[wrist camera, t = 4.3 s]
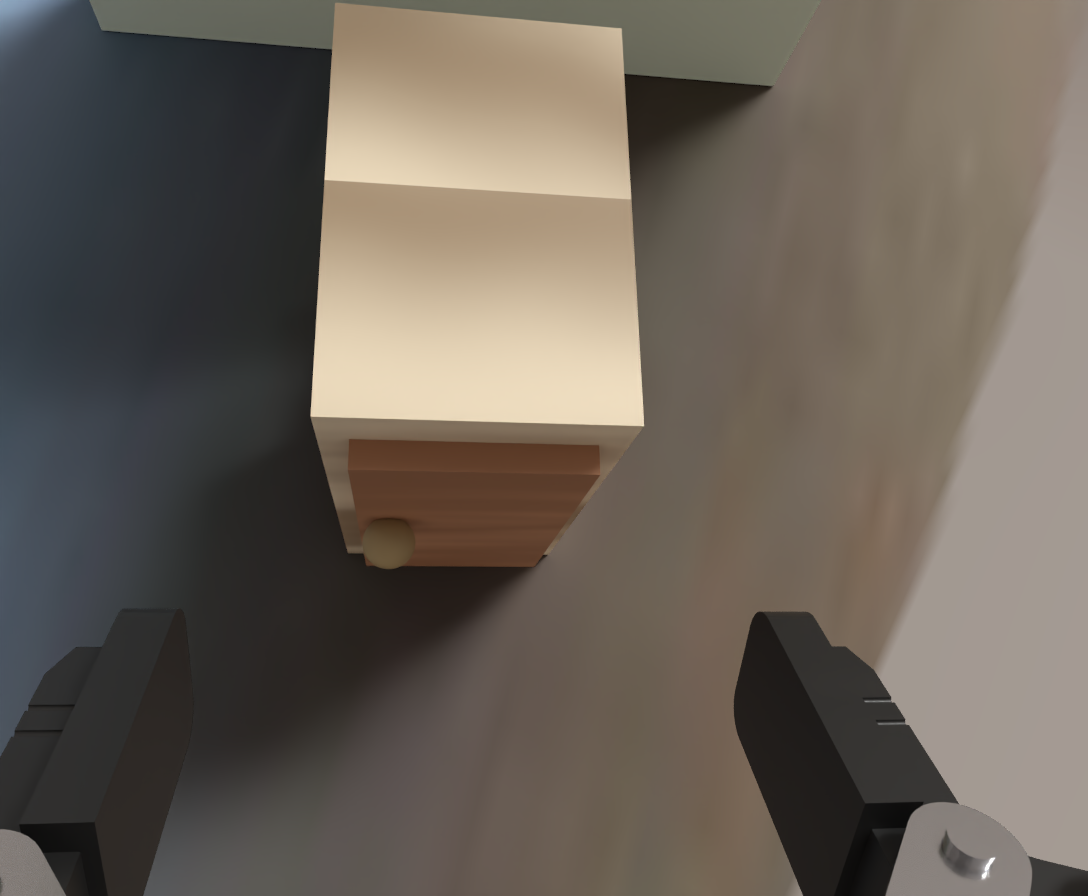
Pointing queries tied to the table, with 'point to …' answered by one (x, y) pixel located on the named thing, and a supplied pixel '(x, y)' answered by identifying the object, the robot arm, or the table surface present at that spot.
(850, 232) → the table surface
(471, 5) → the wall board
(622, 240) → the wall cabinet
